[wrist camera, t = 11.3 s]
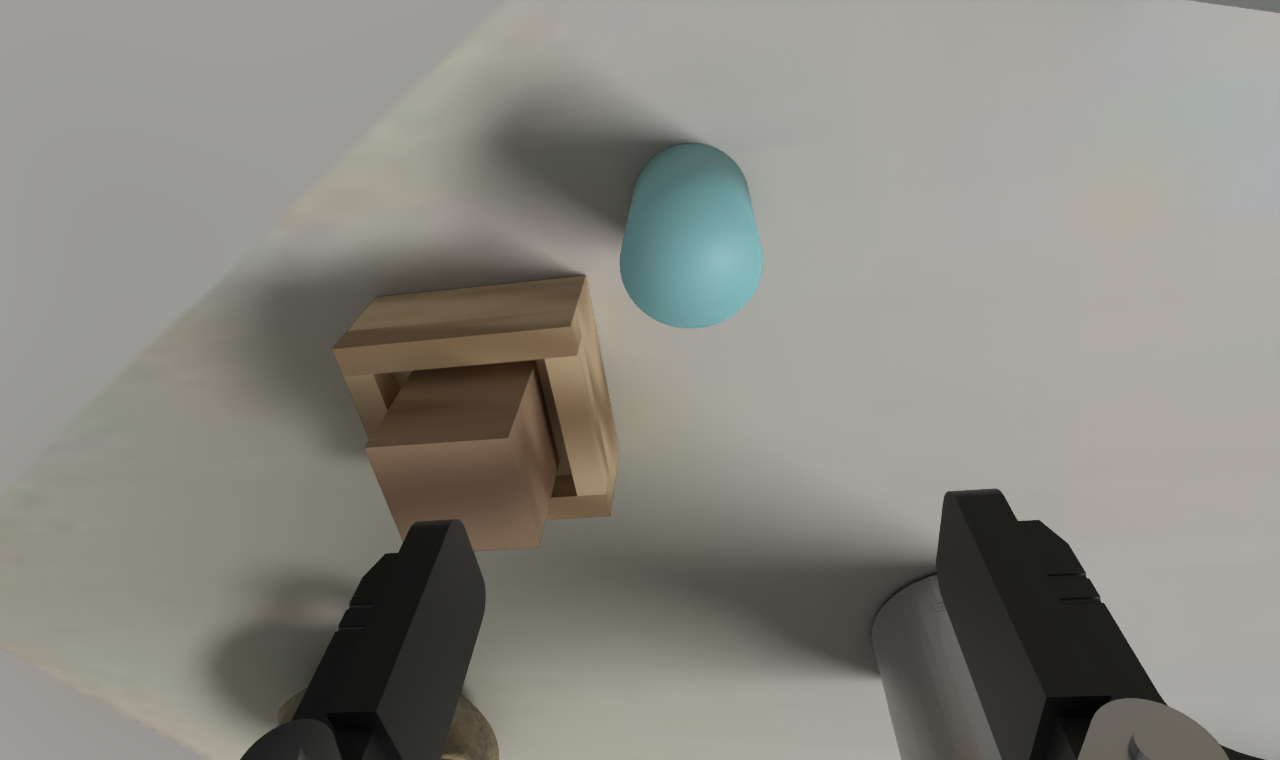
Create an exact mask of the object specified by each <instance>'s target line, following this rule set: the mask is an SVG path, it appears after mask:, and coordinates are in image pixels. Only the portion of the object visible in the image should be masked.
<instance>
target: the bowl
mask: <svg viewBox="0 0 1280 760" xmlns="http://www.w3.org/2000/svg"><path fill="white" fill-rule="evenodd" d="M307 688H308V687H307ZM307 688H305V689H304V690H302V691H301V692H299V693H298V694H297V695H295V696H294V697H293V698H291V699H290V700H289V701H287V702H286V703H285V704H284V705H283V706H282V707H281V708H280V710H279V712H278V719H279V726H280V725H282V724H285V723H287V722H290V721H291V719H292V718H293V716H294V714H295V712H296V710H297V708H298V706H299V704H300V702H301V700H302V698H303V696H304V694H305V692H306V690H307ZM441 760H499V749H498V744H497V740H496V737H495V735H494V732H493V730H492V728H491V726H490V724H489V723H488V721H487V720H486V719H485V717H484V716H483V715H482V714H481V712H480V711H479V710H478V709H477V708H476V707H475V706H474V705H473V704H472V703H471V702H470V701H469V700H467V699H466V698H465V697H463V696H462V695H460V697H459V700H458V703H457V707H456V710H455V713H454V717H453V720H452V724H451V727H450V730H449V734H448V737H447V740H446V744H445V747H444V751H443V754H442V757H441Z"/></svg>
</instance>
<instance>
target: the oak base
mask: <svg viewBox="0 0 1280 760" xmlns="http://www.w3.org/2000/svg"><path fill="white" fill-rule="evenodd" d="M332 351H333V354H334V356H335V358H336V361H337V363H338V366H339V368H340V370H341V373H342V375H343V378H344V380H345V382H346V385H347V387H348V390H349V392H350V394H351V397H352V399H353V402H354V404H355V406H356V409H357V411H358V414H359V416H360V418H361V421H362V423H363V426H364V428H365V430H366V433H367V435H368V438H369V440H370V438H371V436H372V435H373V433H374V432H375V430H376V428H377V427H378V425H379V424H380V422H381V420H382V419H383V417H384V416H385V414H386V412H387V411H388V409H389V408H390V406H391V404H392V403H393V401H394V400H395V398H396V396H397V395H398V393H399V392H400V390H401V388H402V387H403V385H404V384H405V382H406V380H407V379H408V377H409V376H410V374H411V372H412V371H413V370H425V369H437V368H449V367H462V366H474V365H486V364H498V363H511V362H523V361H535V360H536V364H537V368H538V372H539V377H540V381H541V385H542V389H543V393H544V398H545V402H546V406H547V410H548V415H549V419H550V423H551V427H552V431H553V436H554V440H555V444H556V448H557V453H558V457H559V461H560V462H559V466H558V470H557V474H556V478H555V482H554V487H553V491H552V495H551V499H550V503H549V507H548V511H547V515H546V519H545V520H554V519H570V518H586V517H602V516H611V509H612V502H613V495H614V487H615V480H616V472H617V465H618V458H619V447H618V441H617V436H616V431H615V426H614V420H613V415H612V410H611V405H610V399H609V394H608V389H607V384H606V378H605V373H604V368H603V363H602V358H601V352H600V347H599V342H598V337H597V331H596V326H595V321H594V316H593V310H592V305H591V300H590V295H589V290H588V284H587V279H586V275H585V276H575V277H566V278H556V279H546V280H537V281H527V282H517V283H508V284H498V285H488V286H479V287H469V288H459V289H450V290H440V291H431V292H421V293H411V294H402V295H392V296H382V297H376V298H375V299H374V300H373V301H372V302H371V303H370V305H369V306H368V307H367V308H366V309H365V311H364V312H363V313H362V314H361V315H360V316H359V318H358V319H357V320H356V321H355V322H354V324H353V325H352V326H351V327H350V328H349V329H348V331H347V332H346V333H345V334H344V335H343V337H342V338H341V339H340V340H339V341H338V342H337V344H336V345H335V346H334V347H333V348H332Z"/></svg>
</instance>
